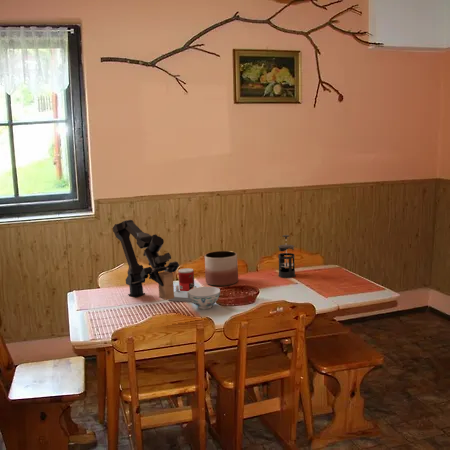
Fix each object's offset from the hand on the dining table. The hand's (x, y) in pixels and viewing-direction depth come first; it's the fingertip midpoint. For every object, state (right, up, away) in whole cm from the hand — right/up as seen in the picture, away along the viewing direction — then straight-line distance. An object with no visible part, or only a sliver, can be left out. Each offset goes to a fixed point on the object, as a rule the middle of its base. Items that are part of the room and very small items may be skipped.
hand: (167, 284), depth 259 cm
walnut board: (-1, -6, +2) cm, 7 cm away
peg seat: (+6, -9, +18) cm, 21 cm away
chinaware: (+17, -11, +4) cm, 21 cm away
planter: (+25, -4, +43) cm, 50 cm away
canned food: (+7, -7, +31) cm, 32 cm away
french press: (+61, -1, +51) cm, 80 cm away
